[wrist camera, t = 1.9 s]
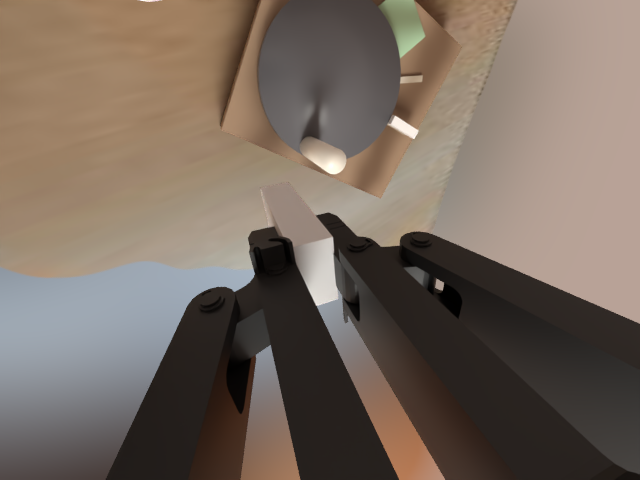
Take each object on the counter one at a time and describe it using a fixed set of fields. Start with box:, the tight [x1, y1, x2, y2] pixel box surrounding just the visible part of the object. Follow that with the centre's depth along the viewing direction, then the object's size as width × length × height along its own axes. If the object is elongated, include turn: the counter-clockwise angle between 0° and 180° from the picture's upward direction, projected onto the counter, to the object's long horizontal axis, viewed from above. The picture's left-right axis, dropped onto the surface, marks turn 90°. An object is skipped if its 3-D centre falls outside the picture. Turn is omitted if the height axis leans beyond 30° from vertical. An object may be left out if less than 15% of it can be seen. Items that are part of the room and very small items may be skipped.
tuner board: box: [220, 0, 462, 198], centre depth 28 cm, size 20×18×4 cm
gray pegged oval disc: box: [257, 0, 418, 174], centre depth 23 cm, size 18×14×8 cm
